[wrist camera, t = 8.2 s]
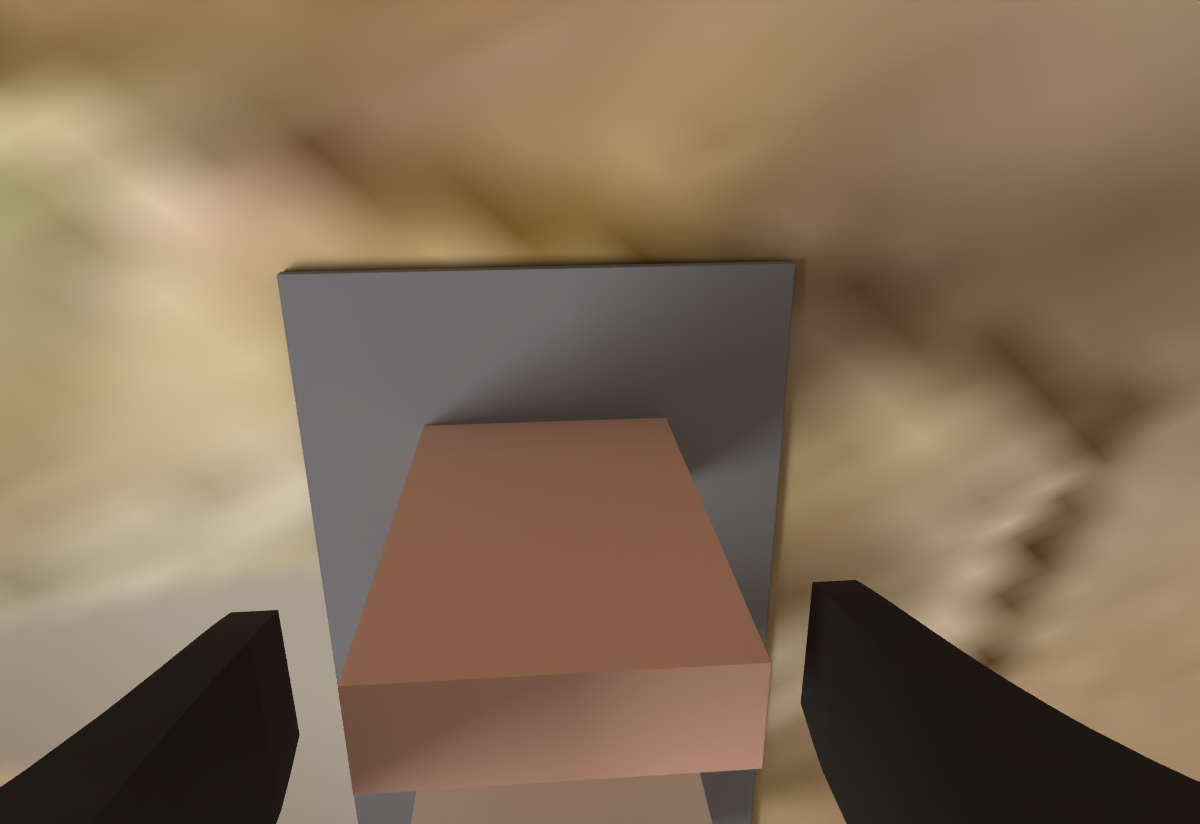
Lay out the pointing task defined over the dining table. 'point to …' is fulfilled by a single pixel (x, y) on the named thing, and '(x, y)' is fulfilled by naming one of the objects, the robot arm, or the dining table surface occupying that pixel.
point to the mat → (537, 403)
